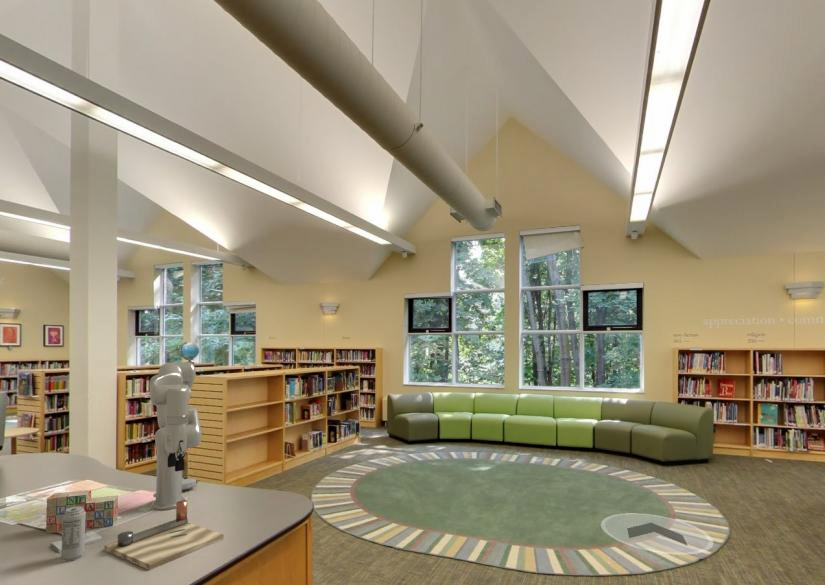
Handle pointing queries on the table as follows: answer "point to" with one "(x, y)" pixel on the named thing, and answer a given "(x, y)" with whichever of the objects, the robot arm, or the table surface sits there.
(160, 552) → the board
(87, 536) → the external hard drive
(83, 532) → the energy drink can
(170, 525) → the lever
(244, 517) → the table surface
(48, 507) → the stack of blocks
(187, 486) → the robot toy
